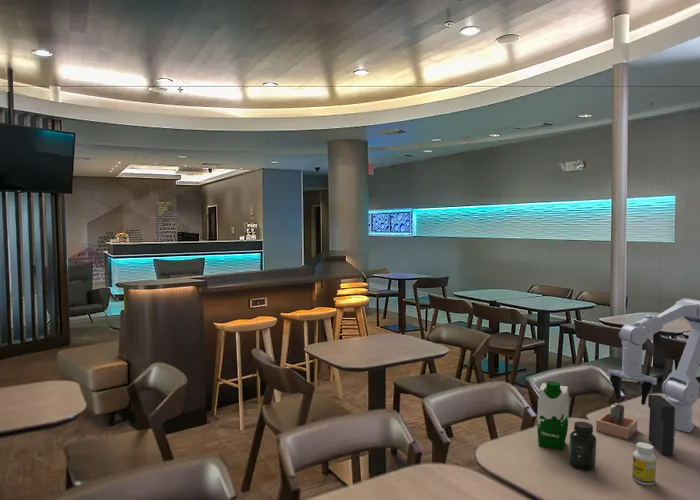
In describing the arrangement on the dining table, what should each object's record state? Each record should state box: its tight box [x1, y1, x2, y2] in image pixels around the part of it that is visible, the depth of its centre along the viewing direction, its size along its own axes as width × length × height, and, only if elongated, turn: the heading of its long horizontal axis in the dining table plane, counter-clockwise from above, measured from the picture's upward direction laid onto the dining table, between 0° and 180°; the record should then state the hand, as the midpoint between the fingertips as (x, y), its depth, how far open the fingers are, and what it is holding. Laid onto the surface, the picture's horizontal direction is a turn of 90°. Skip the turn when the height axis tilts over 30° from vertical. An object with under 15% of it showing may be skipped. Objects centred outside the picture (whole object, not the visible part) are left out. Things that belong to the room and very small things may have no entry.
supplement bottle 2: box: [631, 441, 657, 486], centre depth 138 cm, size 5×5×10 cm
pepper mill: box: [610, 402, 625, 426], centre depth 171 cm, size 4×4×9 cm
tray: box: [595, 412, 638, 440], centre depth 171 cm, size 10×10×4 cm
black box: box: [647, 394, 676, 457], centre depth 158 cm, size 11×4×15 cm, turn 168°
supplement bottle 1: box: [568, 421, 597, 472], centre depth 146 cm, size 7×7×12 cm
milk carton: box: [536, 381, 570, 451], centre depth 160 cm, size 9×9×20 cm
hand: (630, 401), depth 171 cm, fingers open, 7 cm apart
